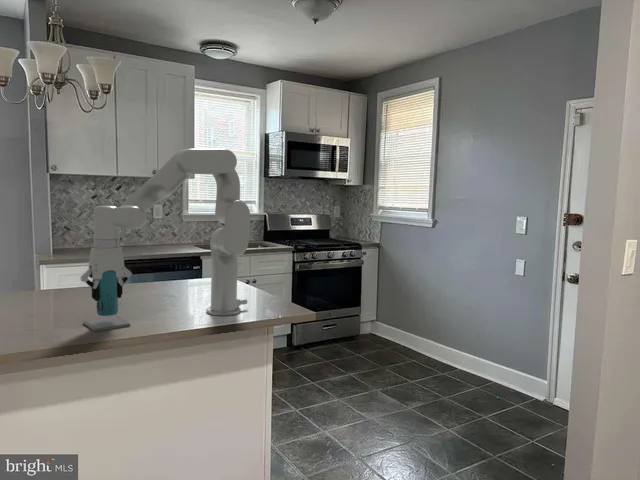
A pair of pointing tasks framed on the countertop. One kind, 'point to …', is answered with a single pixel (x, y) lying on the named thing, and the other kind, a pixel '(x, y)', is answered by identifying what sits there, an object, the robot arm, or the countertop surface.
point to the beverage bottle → (107, 294)
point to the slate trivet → (106, 324)
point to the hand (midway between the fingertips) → (107, 298)
